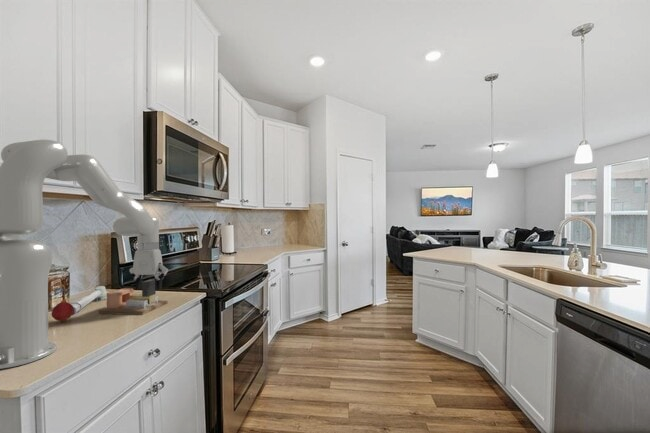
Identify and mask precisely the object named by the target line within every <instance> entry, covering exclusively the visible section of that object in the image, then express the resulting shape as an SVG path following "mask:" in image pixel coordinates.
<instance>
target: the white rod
mask: <svg viewBox="0 0 650 433" xmlns="http://www.w3.org/2000/svg"><path fill="white" fill-rule="evenodd" d="M106 289H107V288H106V286H105V285H100V286H97V287H96V288H95V289H94V291H92V292H90V293H88V294H86V295H84V296H83V297H81V298H79V299H77V300H75V301H72V302H70V304H71V305H72V306H73V307H74V312H73V314H72V315H71V316H74V315H76V313H79V312H80V311H82V309H84V307H86V306H87V305H89V304H90V303H91V302H93V301H94V302H100V301H101V302H102V301H104V300H107V293H109V291H108V290H106Z"/></svg>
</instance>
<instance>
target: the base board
mask: <svg viewBox="0 0 650 433" xmlns="http://www.w3.org/2000/svg"><path fill="white" fill-rule="evenodd" d="M167 304H168V300H162V299H161V300H160V299H158V303H156V304H154V305H152V306H149V307H147V308H145V309H134V308H126V305H125V306H122V307H120V308H107V307H104V308H102V309H99V310H98V314H107V315H108V314H110V315H115V314H116V315H145V314H147V313H149V312H152V311H154V310H156V309H158V308H161V307H163V306H166V305H167Z"/></svg>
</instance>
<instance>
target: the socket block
mask: <svg viewBox="0 0 650 433" xmlns="http://www.w3.org/2000/svg"><path fill="white" fill-rule="evenodd" d="M134 294H135V293H134V288H127V287H125V288H120V289H117V290H113V291H108V293H107V299H106V308H120V307H122V306H125V305H126V301H127V300H130V296H131V295H134Z"/></svg>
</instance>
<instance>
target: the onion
mask: <svg viewBox="0 0 650 433" xmlns="http://www.w3.org/2000/svg"><path fill="white" fill-rule="evenodd" d="M73 312H74V307H73V306H72V305H71V302H68V301H67V299H62V300H61V301H60V302H59V303H57V304H56V305H55V306H54V307H53V309H52V310H51V317H52V318H53V319H54V320H56V321H58V322H61V323H64V322H66V321H67V320H68V319H70V318H71V316H73V315H72V314H73Z"/></svg>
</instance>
